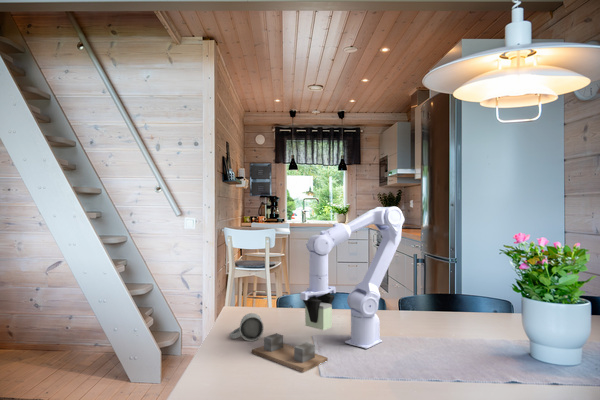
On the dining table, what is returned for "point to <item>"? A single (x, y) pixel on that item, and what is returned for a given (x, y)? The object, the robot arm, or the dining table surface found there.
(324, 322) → the bracket block
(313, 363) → the post base
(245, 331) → the ceramic mug
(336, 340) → the dining table surface
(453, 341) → the dining table surface
